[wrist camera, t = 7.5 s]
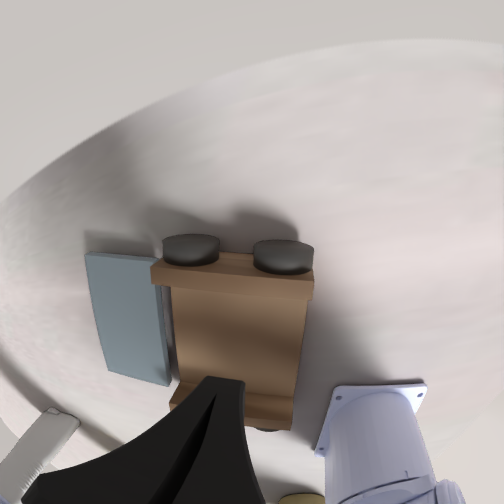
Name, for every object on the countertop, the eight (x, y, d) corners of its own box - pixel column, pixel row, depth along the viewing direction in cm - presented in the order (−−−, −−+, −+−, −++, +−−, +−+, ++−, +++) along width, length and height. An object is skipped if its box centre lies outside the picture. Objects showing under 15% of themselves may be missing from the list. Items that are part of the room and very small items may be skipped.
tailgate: (168, 386, 20) (108, 370, 21) (173, 377, 21) (114, 362, 22) (153, 262, 17) (84, 254, 18) (161, 256, 18) (94, 250, 19)
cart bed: (290, 403, 21) (288, 438, 17) (187, 389, 22) (172, 420, 18) (312, 242, 17) (316, 261, 13) (175, 232, 18) (148, 248, 14)
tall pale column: (51, 425, 30) (-19, 513, 9) (35, 405, 29) (-42, 491, 8) (90, 431, 27) (10, 546, 6) (71, 408, 26) (-20, 523, 6)
